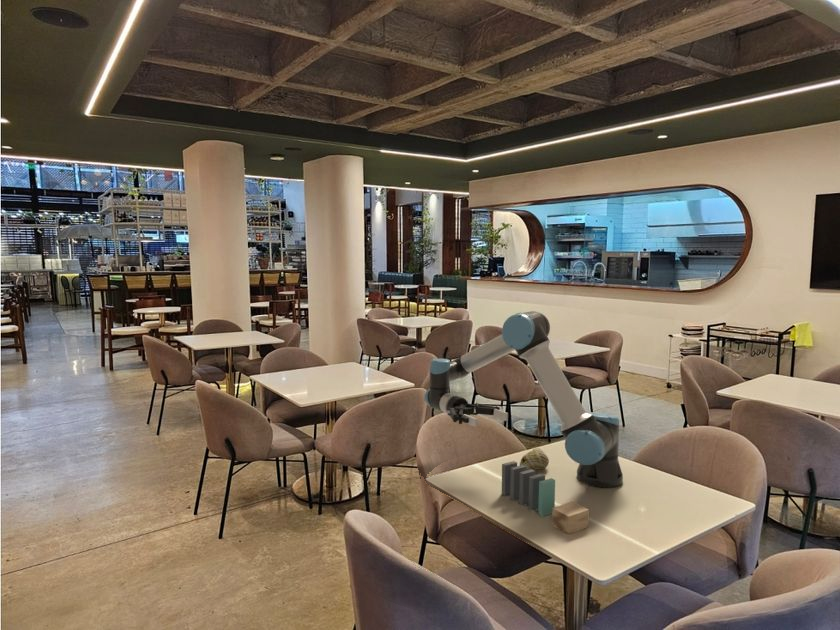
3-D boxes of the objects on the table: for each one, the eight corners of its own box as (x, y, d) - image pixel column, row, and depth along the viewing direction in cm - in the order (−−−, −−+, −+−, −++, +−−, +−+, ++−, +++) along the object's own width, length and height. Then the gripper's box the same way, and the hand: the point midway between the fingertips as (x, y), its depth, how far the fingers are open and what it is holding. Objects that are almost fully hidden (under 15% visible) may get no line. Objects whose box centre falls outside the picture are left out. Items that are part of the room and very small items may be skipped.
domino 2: (510, 498, 169) (510, 468, 168) (522, 495, 172) (522, 465, 171) (513, 500, 168) (514, 469, 167) (525, 497, 171) (526, 466, 170)
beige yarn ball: (516, 470, 191) (518, 442, 195) (522, 474, 199) (524, 447, 203) (544, 473, 187) (546, 445, 190) (549, 477, 195) (551, 450, 199)
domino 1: (501, 493, 173) (502, 463, 172) (513, 490, 175) (513, 461, 175) (504, 495, 172) (505, 465, 171) (516, 492, 174) (517, 462, 173)
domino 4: (528, 508, 162) (529, 476, 161) (540, 505, 165) (541, 473, 164) (532, 510, 161) (532, 478, 160) (544, 507, 163) (545, 475, 163)
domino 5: (538, 514, 159) (539, 481, 158) (550, 510, 161) (551, 478, 160) (542, 516, 157) (542, 483, 156) (554, 512, 160) (555, 479, 159)
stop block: (552, 525, 152) (552, 508, 151) (572, 518, 156) (572, 501, 156) (568, 533, 147) (568, 516, 146) (588, 526, 151) (588, 509, 150)
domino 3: (519, 503, 166) (519, 472, 165) (531, 500, 168) (531, 469, 167) (522, 505, 164) (523, 474, 164) (534, 501, 167) (535, 470, 166)
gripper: (480, 411, 204) (519, 425, 186) (425, 420, 190) (462, 436, 173) (480, 391, 203) (519, 404, 185) (426, 399, 190) (462, 414, 172)
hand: (492, 419), depth 179 cm, fingers open, 13 cm apart
